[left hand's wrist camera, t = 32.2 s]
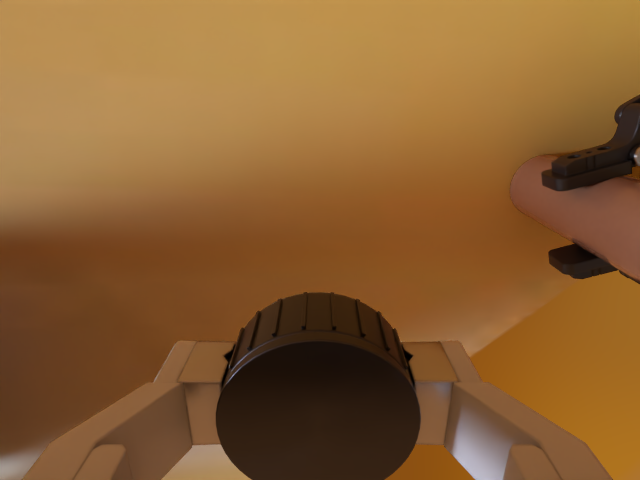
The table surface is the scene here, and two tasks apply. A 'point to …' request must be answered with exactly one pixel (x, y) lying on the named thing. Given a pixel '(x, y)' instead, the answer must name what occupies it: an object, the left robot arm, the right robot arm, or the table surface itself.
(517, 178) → the bottle
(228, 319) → the table surface
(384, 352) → the cap
